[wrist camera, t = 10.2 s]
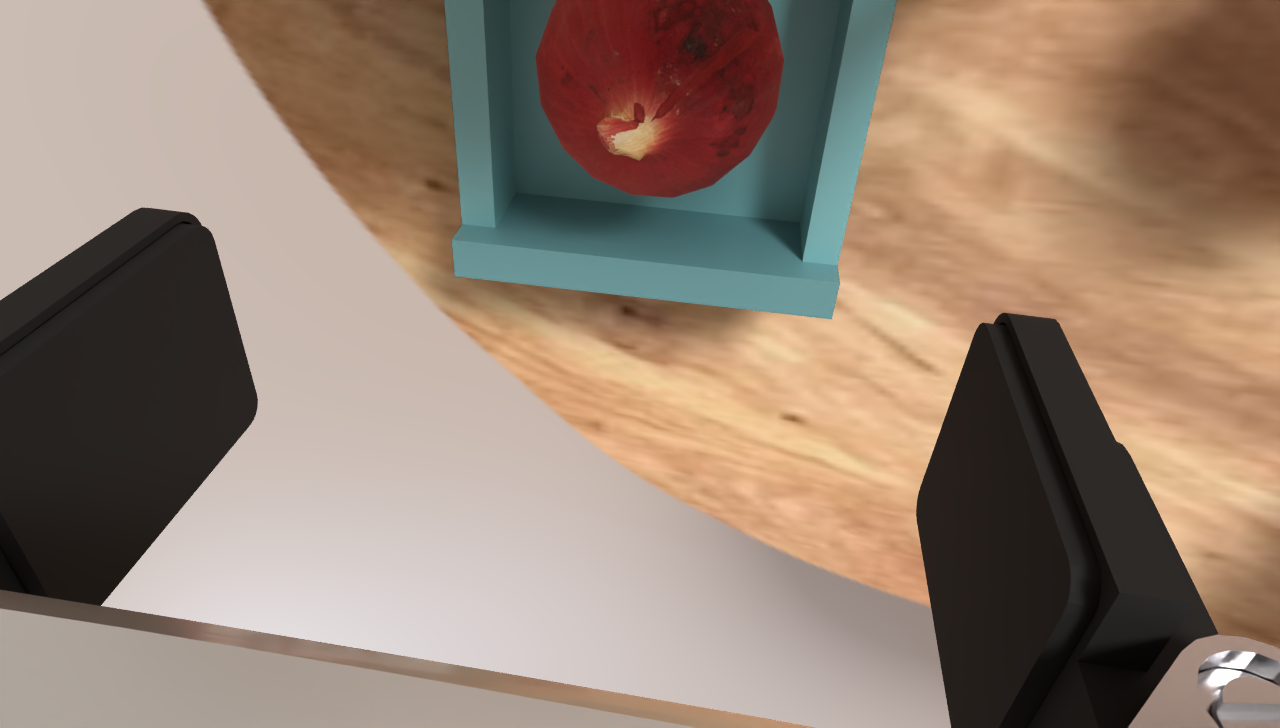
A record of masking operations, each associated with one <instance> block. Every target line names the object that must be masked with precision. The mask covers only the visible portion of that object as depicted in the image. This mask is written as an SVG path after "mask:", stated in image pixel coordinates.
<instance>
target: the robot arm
mask: <svg viewBox="0 0 1280 728" xmlns="http://www.w3.org/2000/svg"><path fill="white" fill-rule="evenodd" d="M257 403H258V399H257V393H256V390H255V386H254V383H253V379H252V375H251V372H250V368H249V364H248V361H247V357H246V353H245V350H244V346H243V343H242V339H241V335H240V331H239V328H238V324H237V321H236V317H235V313H234V310H233V306H232V302H231V299H230V295H229V291H228V288H227V284H226V281H225V277H224V273H223V270H222V267H221V262H220V259H219V255H218V252H217V248H216V244H215V241H214V238H213V236H212V233H211V232H210V231H209V230H208V229H207V228H206V227H203V226H202V225H201V223H200V222H199V220H198V219H197V218H196V217H195V216H194V215H192V214H190V213H185V212H177V211H169V210H161V209H153V208H140V209H138V210H135V211H133V212H132V213H130V214H129V215H127V216H126V217H124V218H123V219H121V220H120V221H118V222H117V223H115V224H114V225H112V226H111V227H109V228H108V229H106V230H105V231H103V232H102V233H100V234H99V235H98V236H96V237H94V238H93V239H91V240H90V241H88V242H87V243H85V244H84V245H82V246H81V247H79V248H78V249H77V250H75V251H73V252H72V253H71V254H69V255H68V256H66V257H65V258H63V259H61V260H60V261H59V262H57V263H56V264H54V265H53V266H51V267H50V268H48V269H47V270H45V271H44V272H42V273H41V274H39V275H38V276H36V277H35V278H33V279H32V280H30V281H29V282H27V283H26V284H24V285H23V286H21V287H20V288H18V289H17V290H15V291H14V292H12V293H11V294H9V295H8V296H6V297H5V298H3V299H2V300H0V728H813V727H808V726H802V725H797V724H792V723H787V722H781V721H776V720H771V719H765V718H759V717H754V716H748V715H742V714H737V713H730V712H725V711H719V710H714V709H707V708H702V707H696V706H691V705H685V704H679V703H673V702H667V701H662V700H656V699H650V698H644V697H639V696H632V695H627V694H621V693H615V692H609V691H604V690H598V689H592V688H587V687H581V686H575V685H569V684H564V683H557V682H551V681H546V680H540V679H535V678H529V677H523V676H517V675H511V674H505V673H500V672H494V671H488V670H482V669H476V668H470V667H464V666H459V665H452V664H447V663H440V662H434V661H429V660H423V659H417V658H410V657H405V656H399V655H393V654H387V653H381V652H376V651H370V650H364V649H357V648H352V647H346V646H340V645H334V644H327V643H322V642H315V641H310V640H304V639H298V638H292V637H286V636H280V635H274V634H268V633H261V632H256V631H249V630H244V629H237V628H231V627H226V626H220V625H213V624H208V623H202V622H196V621H190V620H184V619H177V618H171V617H165V616H159V615H153V614H147V613H140V612H134V611H128V610H122V609H116V608H110V607H103V606H101V605H102V604H103V602H104V601H105V600H106V599H107V598H108V596H109V595H110V594H111V593H112V592H113V590H114V589H115V588H116V587H117V586H118V584H119V583H120V582H121V581H122V579H123V578H124V577H125V576H126V575H127V573H128V572H129V571H130V570H131V569H132V567H133V566H134V565H135V564H136V562H137V561H138V560H139V559H140V558H141V556H142V555H143V554H144V553H145V552H146V550H147V549H148V548H149V547H150V546H151V544H152V543H153V542H154V541H155V539H156V538H157V537H158V536H159V534H161V532H162V531H163V530H164V529H165V527H166V526H167V525H168V524H169V523H170V521H171V520H172V519H173V518H174V516H175V515H176V514H177V513H178V512H179V510H180V509H181V508H182V507H183V506H184V504H185V503H186V502H187V501H188V500H189V498H190V497H191V496H192V495H193V494H194V492H195V491H196V490H197V489H198V488H199V486H200V485H201V484H202V483H203V481H204V480H205V479H206V478H207V477H208V475H209V474H210V473H211V472H212V471H213V469H214V468H215V467H216V466H217V465H218V463H219V462H220V461H221V460H222V458H223V457H224V456H225V455H226V454H227V452H228V451H229V450H230V449H231V447H232V446H233V445H234V444H235V443H236V442H237V440H238V439H239V438H240V437H241V435H242V434H243V433H244V432H245V431H246V429H247V428H248V427H249V425H250V424H251V423H252V421H253V420H254V417H255V415H256V411H257ZM916 516H917V525H918V531H919V537H920V543H921V549H922V555H923V561H924V567H925V573H926V579H927V585H928V591H929V597H930V603H931V609H932V614H933V620H934V626H935V633H936V639H937V645H938V651H939V656H940V662H941V668H942V674H943V681H944V686H945V693H946V698H947V705H948V711H949V716H950V722H951V728H1280V648H1278V647H1276V646H1273V645H1269V644H1266V643H1263V642H1260V641H1256V640H1253V639H1250V638H1247V637H1240V636H1228V635H1219V634H1218V632H1217V630H1216V628H1215V626H1214V624H1213V622H1212V620H1211V618H1210V616H1209V614H1208V612H1207V610H1206V608H1205V606H1204V604H1203V601H1202V599H1201V597H1200V595H1199V593H1198V591H1197V589H1196V587H1195V585H1194V583H1193V581H1192V579H1191V577H1190V575H1189V573H1188V571H1187V569H1186V567H1185V565H1184V563H1183V561H1182V559H1181V557H1180V555H1179V553H1178V551H1177V549H1176V547H1175V545H1174V543H1173V541H1172V539H1171V537H1170V535H1169V533H1168V531H1167V529H1166V527H1165V525H1164V523H1163V521H1162V518H1161V516H1160V514H1159V512H1158V510H1157V508H1156V506H1155V504H1154V502H1153V500H1152V498H1151V496H1150V494H1149V492H1148V490H1147V488H1146V486H1145V484H1144V482H1143V480H1142V478H1141V476H1140V474H1139V472H1138V470H1137V468H1136V466H1135V464H1134V462H1133V460H1132V458H1131V456H1130V454H1129V453H1128V451H1127V450H1126V448H1125V447H1124V446H1123V445H1122V444H1120V443H1118V442H1116V440H1115V438H1114V436H1113V434H1112V432H1111V430H1110V428H1109V426H1108V424H1107V422H1106V420H1105V417H1104V415H1103V413H1102V411H1101V409H1100V407H1099V405H1098V403H1097V401H1096V399H1095V397H1094V395H1093V393H1092V391H1091V388H1090V386H1089V384H1088V382H1087V380H1086V378H1085V376H1084V374H1083V372H1082V370H1081V368H1080V366H1079V364H1078V362H1077V360H1076V357H1075V355H1074V353H1073V351H1072V349H1071V347H1070V345H1069V343H1068V341H1067V339H1066V337H1065V335H1064V333H1063V331H1062V328H1061V326H1060V324H1059V323H1058V322H1057V321H1056V320H1055V319H1051V318H1043V317H1034V316H1026V315H1018V314H1010V313H1002V314H1000V315H999V316H998V317H997V319H996V320H995V322H994V324H989V323H982V324H980V325H979V326H978V328H977V330H976V332H975V334H974V337H973V340H972V343H971V345H970V348H969V351H968V354H967V357H966V360H965V362H964V365H963V368H962V371H961V374H960V377H959V379H958V382H957V385H956V388H955V391H954V394H953V396H952V399H951V402H950V405H949V408H948V411H947V413H946V416H945V419H944V422H943V425H942V428H941V430H940V433H939V436H938V439H937V442H936V445H935V447H934V450H933V453H932V456H931V459H930V462H929V464H928V467H927V470H926V473H925V476H924V479H923V481H922V484H921V487H920V490H919V494H918V499H917V509H916Z"/></svg>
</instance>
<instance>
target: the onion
mask: <svg viewBox="0 0 1280 728" xmlns="http://www.w3.org/2000/svg"><path fill="white" fill-rule="evenodd" d="M535 58H536V67H537V76H538V85H539V94H540V103H541V106H542V108H543V110H544V112H545V114H546V116H547V118H548V120H549V122H550V124H551V126H552V128H553V130H554V132H555V134H556V136H557V137H558V139H559V141H560V143H561V145H562V147H563V149H564V150H565V151H566V152H567V153H568V154H569V155H570V156H571V157H572V158H573V159H574V160H575V161H576V162H577V163H578V164H579V165H580V166H581V167H582V168H583V169H584V170H585V171H586V172H587V173H588V174H589V175H590V176H591V177H593V178H595V179H597V180H599V181H601V182H604V183H606V184H608V185H610V186H613V187H615V188H617V189H619V190H621V191H624V192H626V193H628V194H630V195H641V196H654V197H668V198H674V197H678V196H681V195H684V194H687V193H690V192H694V191H697V190H700V189H703V188H706V187H710V186H712V185H714V184H715V183H716V182H717V181H719V180H720V179H721V178H722V177H723V176H725V175H726V174H727V173H728V172H730V171H731V170H732V169H733V168H735V167H736V166H737V165H738V164H740V163H741V162H742V161H743V160H744V159H746V158H747V157H748V156H749V155H750V154H751V153H752V151H753V149H754V148H755V146H756V144H757V143H758V141H759V140H760V138H761V136H762V135H763V133H764V132H765V130H766V128H767V127H768V125H769V123H770V122H771V120H772V119H773V116H774V114H775V111H776V109H777V103H778V97H779V90H780V84H781V78H782V71H783V65H784V57H783V52H782V48H781V44H780V39H779V35H778V31H777V26H776V22H775V18H774V13H773V9H772V6H771V4H770V3H769V1H768V0H556V2H555V4H554V6H553V8H552V10H551V13H550V16H549V19H548V22H547V25H546V28H545V30H544V33H543V36H542V39H541V42H540V45H539V47H538V50H537V53H536V56H535Z"/></svg>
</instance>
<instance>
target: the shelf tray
mask: <svg viewBox="0 0 1280 728" xmlns="http://www.w3.org/2000/svg"><path fill="white" fill-rule="evenodd" d="M768 1H769V3H770V4H771V6H772V9H773V13H774V18H775V22H776V26H777V31H778V35H779V39H780V44H781V48H782V52H783V57H784V65H783V71H782V78H781V84H780V90H779V97H778V103H777V109H776V111H775V114H774V116H773V119H772V120H771V122H770V123H769V125H768V127H767V128H766V130H765V132H764V133H763V135H762V136H761V138H760V140H759V141H758V143H757V144H756V146H755V148H754V149H753V151H752V153H751V154H750V155H749V156H748V157H747V158H746V159H744V160H743V161H742V162H741V163H740V164H738V165H737V166H736V167H735V168H733V169H732V170H731V171H730V172H728V173H727V174H726V175H725V176H723V177H722V178H721V179H720V180H719V181H717V182H716V183H715V184H714V185H712V186H710V187H706V188H703V189H700V190H697V191H694V192H690V193H687V194H684V195H681V196H678V197H674V198H668V197H654V196H641V195H630V194H628V193H626V192H624V191H621V190H619V189H617V188H615V187H613V186H610V185H608V184H606V183H604V182H601V181H599V180H597V179H595V178H593V177H591V176H590V175H589V174H588V173H587V172H586V171H585V170H584V169H583V168H582V167H581V166H580V165H579V164H578V163H577V162H576V161H575V160H574V159H573V158H572V157H571V156H570V155H569V154H568V153H567V152H566V151H565V150H564V149H563V147H562V145H561V143H560V141H559V139H558V137H557V136H556V134H555V132H554V130H553V128H552V126H551V124H550V122H549V120H548V118H547V116H546V114H545V112H544V110H543V108H542V106H541V103H540V94H539V85H538V76H537V67H536V58H535V56H536V53H537V50H538V47H539V45H540V42H541V39H542V36H543V33H544V30H545V28H546V25H547V22H548V19H549V16H550V13H551V10H552V8H553V6H554V4H555V2H556V0H444V4H445V17H446V29H447V42H448V54H449V67H450V80H451V92H452V105H453V117H454V130H455V142H456V155H457V167H458V180H459V193H460V205H461V218H462V225H461V227H460V228H459V230H458V231H457V233H456V234H455V236H454V237H453V239H452V250H453V262H454V273H455V276H456V277H465V278H474V279H482V280H491V281H500V282H509V283H517V284H526V285H535V286H544V287H553V288H561V289H570V290H579V291H588V292H596V293H605V294H614V295H623V296H632V297H640V298H649V299H658V300H667V301H675V302H684V303H693V304H702V305H711V306H719V307H728V308H737V309H746V310H754V311H763V312H772V313H781V314H790V315H798V316H807V317H816V318H825V319H832V316H833V311H834V307H835V303H836V298H837V294H838V289H839V285H840V279H839V272H838V261H839V257H840V252H841V248H842V243H843V239H844V234H845V230H846V226H847V221H848V217H849V212H850V208H851V203H852V199H853V194H854V190H855V185H856V181H857V176H858V172H859V167H860V163H861V158H862V154H863V150H864V145H865V141H866V136H867V132H868V127H869V123H870V118H871V114H872V109H873V105H874V100H875V96H876V91H877V87H878V82H879V78H880V73H881V69H882V65H883V60H884V56H885V51H886V47H887V42H888V38H889V33H890V29H891V24H892V20H893V15H894V11H895V6H896V2H897V0H768Z"/></svg>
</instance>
